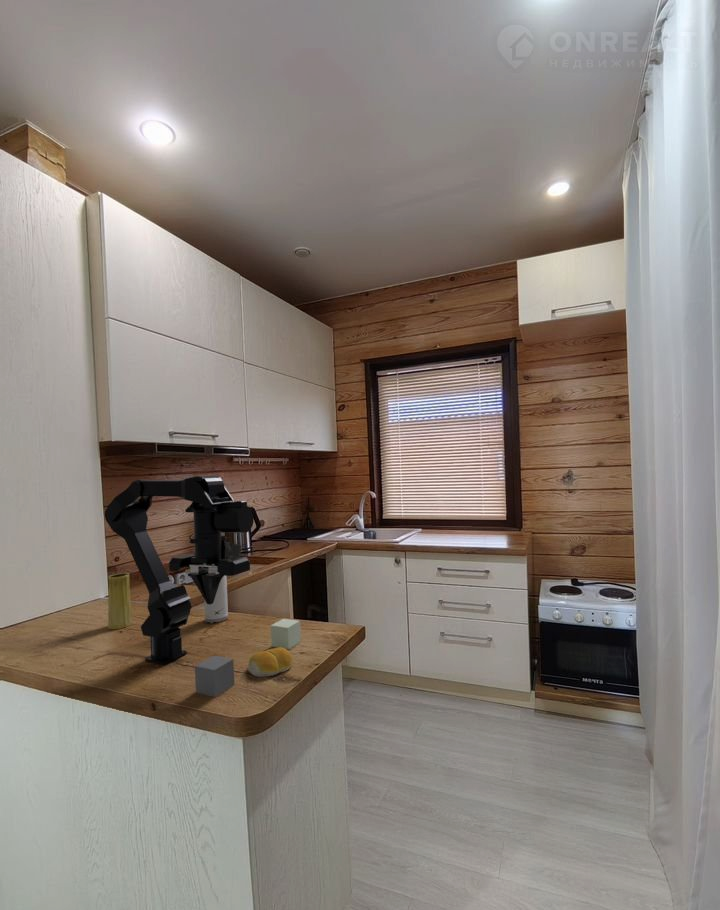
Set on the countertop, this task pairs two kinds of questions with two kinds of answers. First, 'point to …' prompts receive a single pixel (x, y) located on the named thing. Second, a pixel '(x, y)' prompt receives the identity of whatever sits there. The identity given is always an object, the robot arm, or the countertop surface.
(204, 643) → the countertop surface
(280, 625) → the sage block
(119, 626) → the vase
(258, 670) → the bread roll
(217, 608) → the travel mug
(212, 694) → the charcoal block
